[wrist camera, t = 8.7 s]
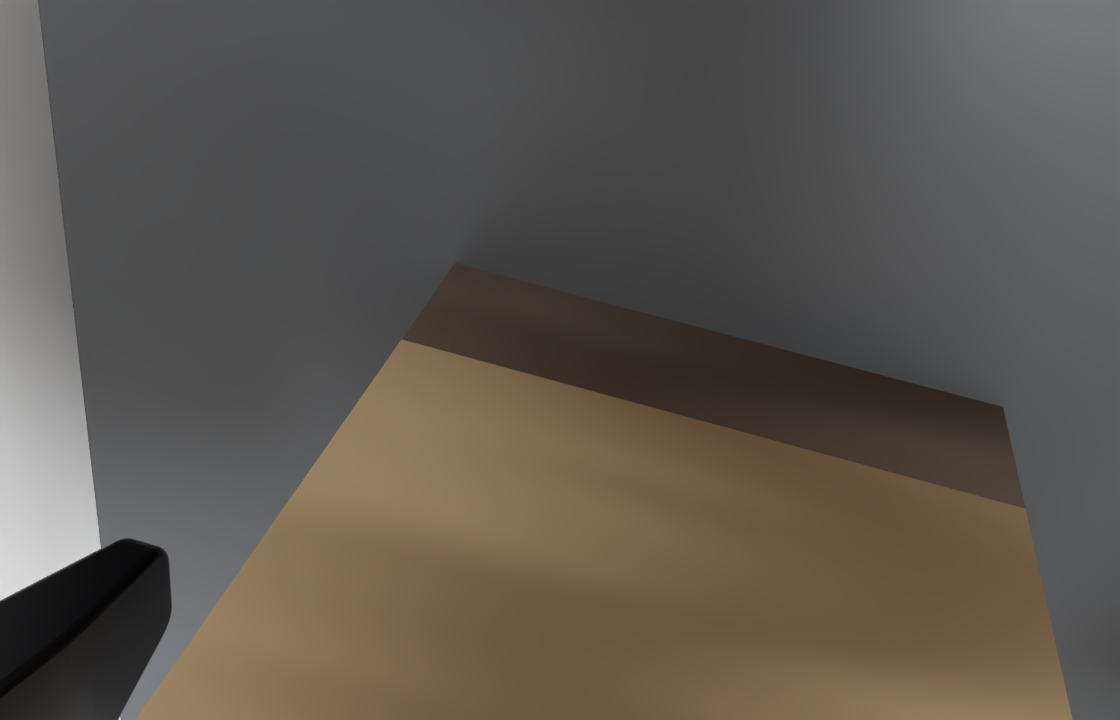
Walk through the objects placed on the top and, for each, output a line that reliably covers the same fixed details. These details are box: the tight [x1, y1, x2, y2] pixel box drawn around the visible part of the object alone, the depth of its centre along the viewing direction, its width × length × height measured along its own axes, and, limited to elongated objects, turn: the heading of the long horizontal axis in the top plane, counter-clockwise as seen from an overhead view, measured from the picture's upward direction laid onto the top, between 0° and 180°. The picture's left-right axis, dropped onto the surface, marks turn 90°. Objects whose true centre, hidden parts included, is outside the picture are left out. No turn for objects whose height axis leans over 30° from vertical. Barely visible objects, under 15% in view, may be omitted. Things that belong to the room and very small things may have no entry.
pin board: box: [38, 0, 1120, 720], centre depth 10 cm, size 14×14×6 cm
